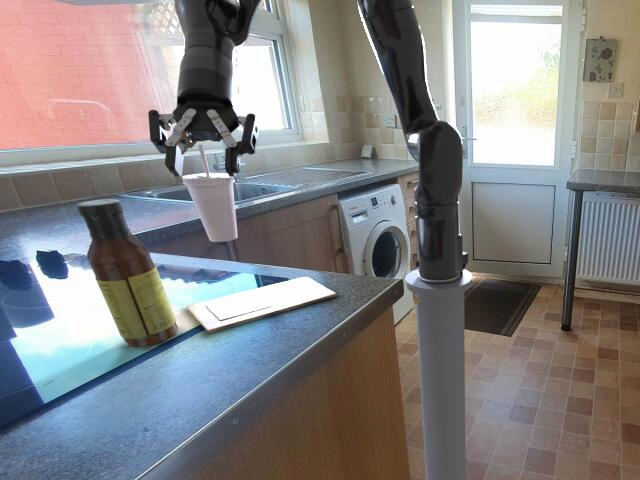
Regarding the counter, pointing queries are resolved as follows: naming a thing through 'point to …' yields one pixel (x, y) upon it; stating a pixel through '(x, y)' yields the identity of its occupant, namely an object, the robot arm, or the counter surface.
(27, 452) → the counter surface
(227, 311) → the wooden board
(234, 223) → the smoothie
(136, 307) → the sauce bottle
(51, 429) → the counter surface
